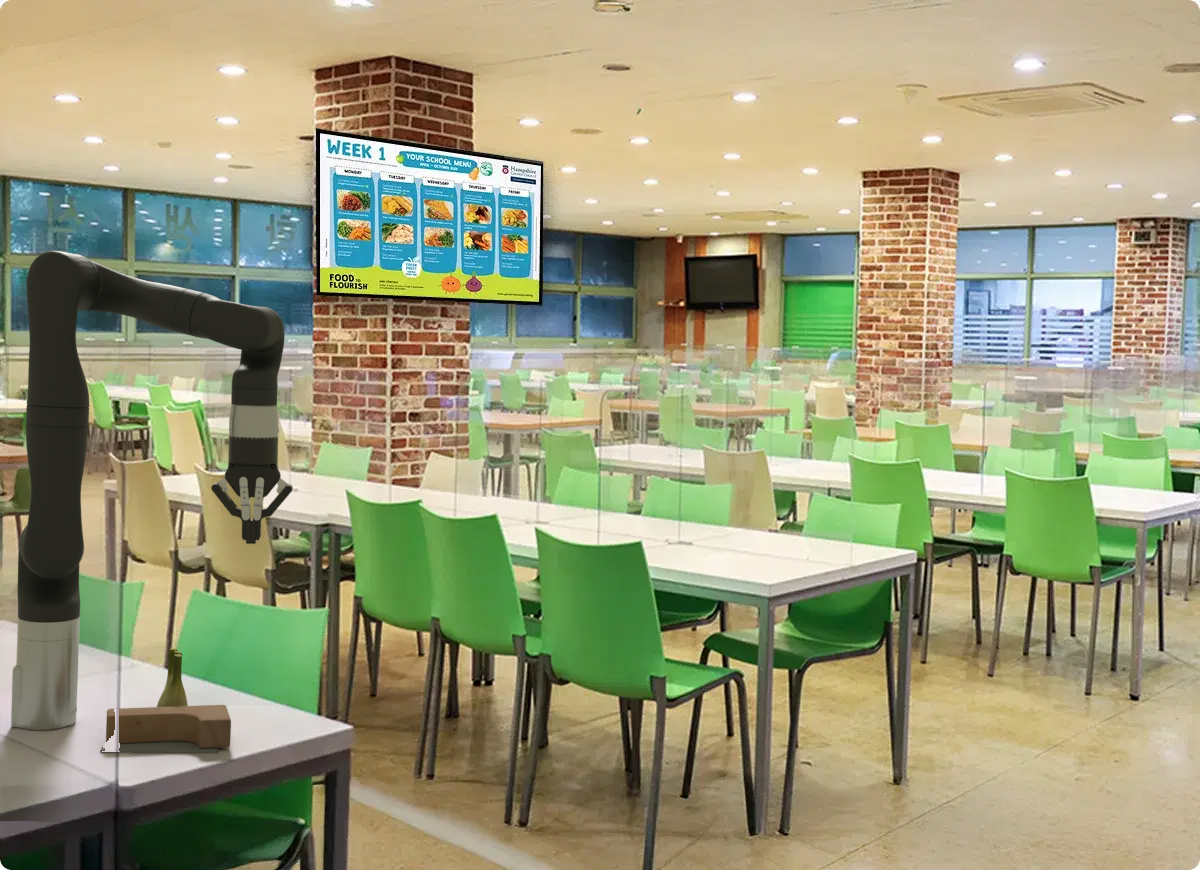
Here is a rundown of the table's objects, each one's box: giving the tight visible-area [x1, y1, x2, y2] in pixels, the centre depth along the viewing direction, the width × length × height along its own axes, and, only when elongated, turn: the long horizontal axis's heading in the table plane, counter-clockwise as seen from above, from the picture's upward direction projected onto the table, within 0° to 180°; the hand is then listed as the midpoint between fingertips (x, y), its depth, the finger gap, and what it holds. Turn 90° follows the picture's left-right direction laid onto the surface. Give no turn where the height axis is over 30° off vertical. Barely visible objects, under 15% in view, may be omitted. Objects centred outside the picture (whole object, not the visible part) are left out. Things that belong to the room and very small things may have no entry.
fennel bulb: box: [156, 647, 189, 707], centre depth 221 cm, size 6×5×12 cm
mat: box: [99, 741, 219, 754], centre depth 211 cm, size 17×12×1 cm
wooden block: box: [105, 704, 232, 749], centre depth 209 cm, size 9×4×18 cm
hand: (251, 543), depth 212 cm, fingers closed
